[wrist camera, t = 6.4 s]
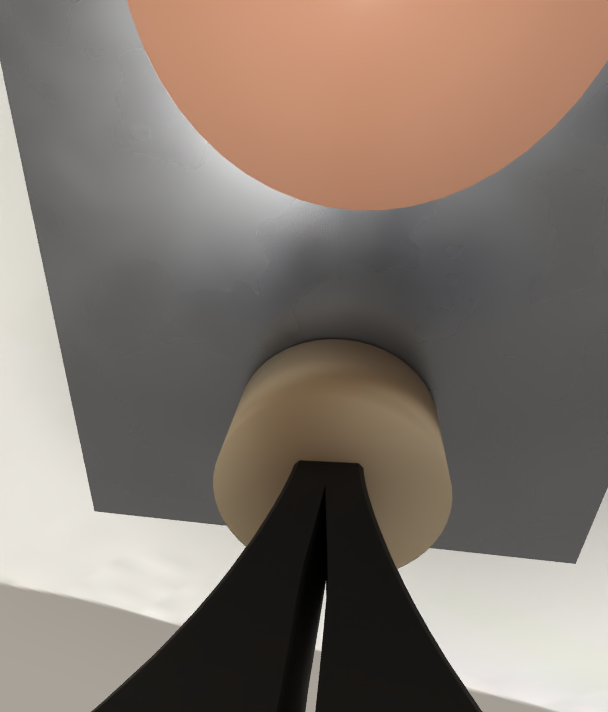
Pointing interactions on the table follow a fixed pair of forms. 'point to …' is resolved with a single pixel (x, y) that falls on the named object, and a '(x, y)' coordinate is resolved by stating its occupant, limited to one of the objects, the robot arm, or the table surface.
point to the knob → (338, 440)
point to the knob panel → (308, 290)
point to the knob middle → (373, 87)
